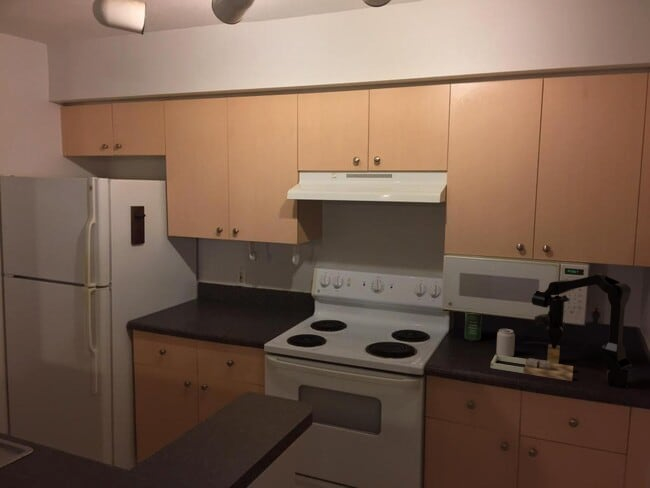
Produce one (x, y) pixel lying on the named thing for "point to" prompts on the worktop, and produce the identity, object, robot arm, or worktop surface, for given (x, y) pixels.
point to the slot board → (552, 371)
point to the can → (505, 342)
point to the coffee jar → (473, 326)
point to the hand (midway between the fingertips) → (554, 345)
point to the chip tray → (508, 367)
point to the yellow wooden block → (553, 354)
